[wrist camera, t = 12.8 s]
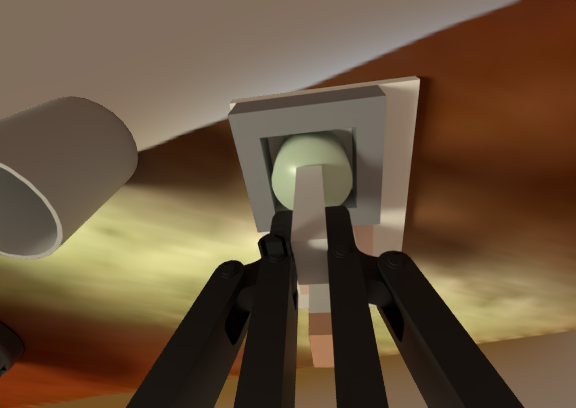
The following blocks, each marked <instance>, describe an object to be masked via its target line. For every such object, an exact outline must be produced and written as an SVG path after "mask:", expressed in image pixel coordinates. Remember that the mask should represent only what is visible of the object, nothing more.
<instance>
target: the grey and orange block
mask: <svg viewBox="0 0 576 408" xmlns="http://www.w3.org/2000/svg"><path fill="white" fill-rule="evenodd" d="M353 233H354V229H353ZM354 239H355V233H354ZM355 244H356V239H355ZM356 246H357V244H356ZM309 340H310V346H311V351H312V357H313V363H314V367H334V354H333V339H332V323H331V308H330V292H329V284H310V285H309Z"/></svg>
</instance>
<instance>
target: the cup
mask: <svg viewBox="0 0 576 408" xmlns="http://www.w3.org/2000/svg"><path fill="white" fill-rule="evenodd" d="M137 163H138V153H137V147H136V143H135V141H134V139H133V136H132V134H131V132H130V131H129V130H128V128H127V127H126V125H124V123H123V122H122V121H121V120H120V119H119V118H118V117H117V116H116V115H115V114H114V113H113V112H111V111H109V110H108V109H106V108H105V107H103V106H102V105H100V104H97V103H95V102H92V101H90V100H87V99H85V98H78V97H63V98H57V99H53V100H50V101H48V102H45V103H42V104H40V105H37V106H34V107H32V108H29V109H26V110H24V111H21V112H18V113H16V114H13V115H11V116H8V117H5V118H2V119H0V254H2V255H5V256H8V257H15V258H22V259H35V258H42V257H45V256H48V255H51V254H52V253H53V252H54V251H56V250H57V249H58V248H59V247H60V246H61V245H62V244H63V243H64V242H65V241H66V240H67V239H68V238H69V237H70V236H71V235H72V234H74V233H75V232H76V231H77V230H78V229H79V228H80V227H81V226H82V225H83V224H84V223H85V222H86V221H87V220H88V219H89V218H90V217H91V216H92V215H93V214H94V213H95V212H96V211H97V210H98V209H99V208H100V207H101V206H102V205H103V204H104V203H105V202H106V201H107V200H108V199H109V198H110V197H111V196H112V195H113V194H114V193H116V192H117V191H118V190H119V189H120V188H121V187H122V186H123V185H124V184H125V183H126V182H127V181H128V180H129V179H130V178H131V176H132V175H133V173H134V172H135V170H136V168H137Z"/></svg>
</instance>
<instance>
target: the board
mask: <svg viewBox="0 0 576 408" xmlns="http://www.w3.org/2000/svg"><path fill="white" fill-rule="evenodd" d="M419 85H420V79H419V78H418V77H416V76H411V77H403V78H395V79H388V80H380V81H372V82H365V83H357V84H349V85H342V86H334V87H326V88H319V89H311V90H303V91H296V92H288V93H280V94H273V95H265V96H257V97H250V98H242V99H234V100H232V101H231V102H230V104H229V105H230V109H231V111H230V113H229V114H228V118H229V122H230V126H231V130H232V134H233V138H234V141H235V145H236V149H237V153H238V157H239V161H240V165H241V169H242V173H243V176H244V180H245V184H246V188H247V192H248V196H249V200H250V204H251V208H252V211H253V215H254V219H255V223H256V227H257V231H258V232H261V234H262V237H263V236H264V235H266V234H268V233H270V228H271V222H272V217H273V216H274V215H275V213H276V212H277V211H286V210H290V209H288V208H287V207H285V206H284V205H283V204H282V203H281V202H280V201H279V200H278V199H277V197H276V195H275V193H274V191H273V187H272V174H273V169H274V165H275V160H276V156H277V152H278V149H279V147H280V145H281V143H282V142H283V140H284V139H285V138H286V137H287V136H288V135H290V134H299V133H308V132H317V131H326V130H328V131H330V132H332V133H333V134H335V135H336V136H337V137H338V138H339V139H340V140H341V141H342V143H343V144H344V146H345V149H346V152H347V156H348V160H349V164H350V169H351V173H352V187H351V190H350V193H349V195H348V197H347V198H346V199H345V201H344V202H343V203H342V204H341V205H340V206H342V205H344V206H345V207H346V208H347V209H348V210H349V212H350V217H351V223H352V228H353V229H354V233H355V239H356V244H357V248H358V249H359V250H360V251H361V252H363V253H365V254H367V255H371V256H376V257H379V256H380V255H381V254H382V253H384V252H386V251H393V250H394V251H400V252H401V251H402V242H403V232H404V223H405V214H406V205H407V196H408V186H409V177H410V168H411V159H412V150H413V140H414V131H415V122H416V113H417V104H418V94H419ZM297 289H298V309H309V285H298V280H297ZM369 307H377V306H376V305H372V304H369Z"/></svg>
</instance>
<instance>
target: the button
mask: <svg viewBox="0 0 576 408" xmlns="http://www.w3.org/2000/svg"><path fill="white" fill-rule="evenodd" d="M315 165H322V176H323V188H324V200H325V207H329V206H340V205H341V204H342V203H343V202H344V201H345V199H346V198H347V197H348V195H349V193H350V190H351V187H352V173H351V169H350V164H349V160H348V156H347V152H346V149H345V146H344V144H343V143H342V141H341V140H340V139H339V138H338V137H337V136H336V135H335V134H333V133H332V132H330V131H328V130H326V131H317V132H308V133H299V134H290V135H288V136H287V137H286V138H285V139H284V140H283V142H282V143H281V145H280V147H279V149H278V152H277V156H276V160H275V165H274V169H273V174H272V187H273V191H274V193H275V195H276V197H277V199H278V200H279V201H280V202H281V203H282V204H283V205H284V206H285V207H287V208H288V209H290V210H293V205H294V193H295V180H296V168H297V167H305V166H315Z"/></svg>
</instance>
